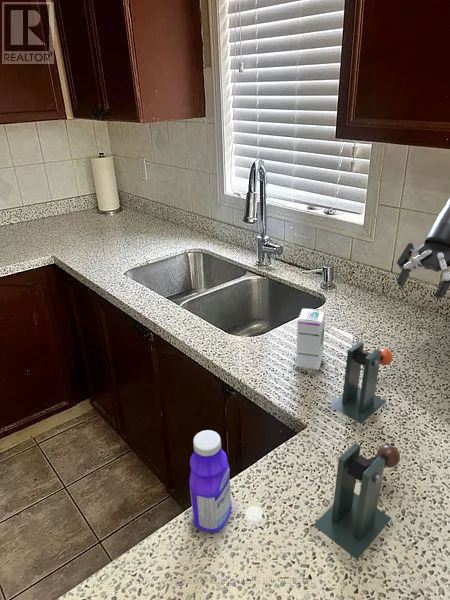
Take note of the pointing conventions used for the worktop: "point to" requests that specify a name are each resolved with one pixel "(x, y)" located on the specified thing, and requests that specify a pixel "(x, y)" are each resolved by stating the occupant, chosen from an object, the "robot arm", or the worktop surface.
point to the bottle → (209, 482)
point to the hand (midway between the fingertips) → (418, 291)
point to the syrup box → (310, 338)
